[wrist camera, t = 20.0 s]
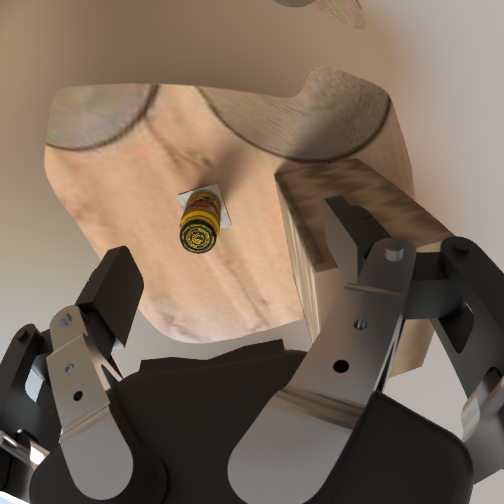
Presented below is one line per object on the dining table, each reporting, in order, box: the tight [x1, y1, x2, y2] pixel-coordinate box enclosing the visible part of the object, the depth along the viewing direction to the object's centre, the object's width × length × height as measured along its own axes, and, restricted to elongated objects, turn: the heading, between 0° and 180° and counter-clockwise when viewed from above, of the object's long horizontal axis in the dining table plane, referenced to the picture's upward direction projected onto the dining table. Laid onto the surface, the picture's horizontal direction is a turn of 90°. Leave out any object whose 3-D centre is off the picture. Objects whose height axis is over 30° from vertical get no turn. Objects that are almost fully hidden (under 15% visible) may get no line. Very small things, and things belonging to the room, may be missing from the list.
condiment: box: [178, 183, 231, 254], centre depth 47 cm, size 7×8×12 cm
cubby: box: [274, 159, 455, 378], centre depth 42 cm, size 15×22×28 cm
